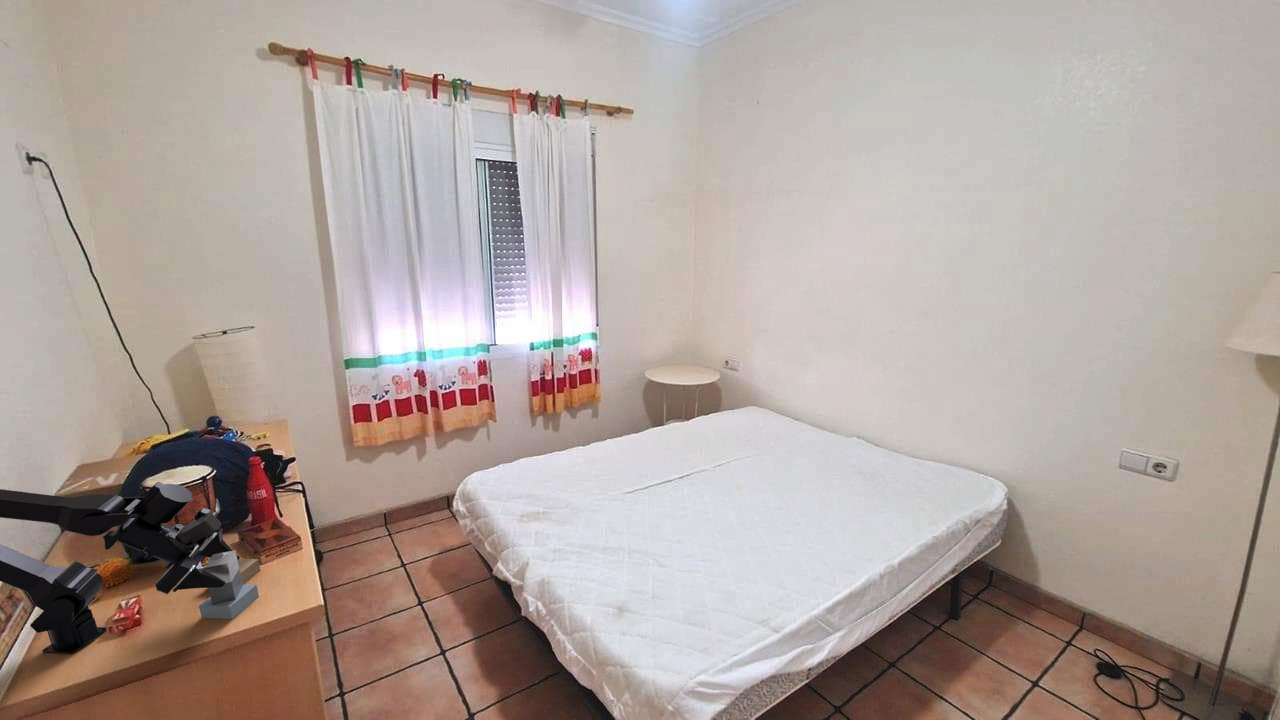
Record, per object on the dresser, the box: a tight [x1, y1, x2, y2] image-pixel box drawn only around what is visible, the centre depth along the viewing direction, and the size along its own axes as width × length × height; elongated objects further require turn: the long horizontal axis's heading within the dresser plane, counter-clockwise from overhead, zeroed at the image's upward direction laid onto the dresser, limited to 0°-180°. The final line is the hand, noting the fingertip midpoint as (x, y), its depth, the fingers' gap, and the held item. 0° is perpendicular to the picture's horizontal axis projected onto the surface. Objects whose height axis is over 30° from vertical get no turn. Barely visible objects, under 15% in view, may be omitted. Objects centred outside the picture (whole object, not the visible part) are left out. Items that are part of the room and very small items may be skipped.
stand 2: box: [238, 558, 261, 584], centre depth 119 cm, size 7×7×3 cm
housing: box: [203, 549, 243, 605], centre depth 109 cm, size 4×5×9 cm
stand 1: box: [198, 583, 260, 620], centre depth 110 cm, size 7×7×3 cm
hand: (231, 571), depth 109 cm, fingers open, 9 cm apart
